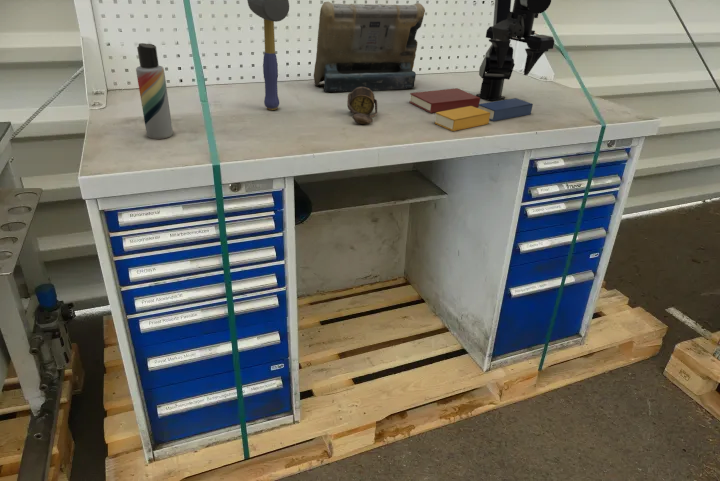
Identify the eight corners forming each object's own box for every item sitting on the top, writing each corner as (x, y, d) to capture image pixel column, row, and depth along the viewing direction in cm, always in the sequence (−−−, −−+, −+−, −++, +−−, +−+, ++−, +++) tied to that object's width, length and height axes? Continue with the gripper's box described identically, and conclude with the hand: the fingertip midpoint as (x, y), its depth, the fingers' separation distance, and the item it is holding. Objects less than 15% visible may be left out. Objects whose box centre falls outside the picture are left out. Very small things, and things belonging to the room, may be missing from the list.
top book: (469, 116, 144) (471, 105, 143) (488, 123, 140) (490, 112, 138) (434, 123, 138) (435, 112, 136) (453, 131, 133) (454, 119, 131)
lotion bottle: (150, 130, 123) (135, 40, 113) (175, 131, 123) (163, 41, 113) (144, 139, 118) (128, 46, 108) (170, 139, 119) (156, 47, 108)
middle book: (513, 108, 154) (515, 97, 152) (530, 114, 149) (533, 103, 148) (476, 114, 146) (478, 104, 145) (493, 121, 142) (495, 110, 140)
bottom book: (455, 97, 161) (457, 88, 159) (478, 107, 153) (480, 97, 151) (409, 102, 154) (410, 92, 152) (430, 113, 145) (431, 103, 144)
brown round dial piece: (390, 93, 140) (356, 80, 142) (376, 101, 129) (339, 86, 131) (382, 119, 144) (349, 106, 145) (367, 128, 133) (332, 114, 134)
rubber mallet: (293, 114, 139) (291, -11, 123) (266, 117, 135) (261, -11, 120) (276, 101, 148) (273, -17, 133) (251, 104, 145) (244, -17, 129)
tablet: (401, 78, 178) (408, -3, 165) (421, 89, 167) (431, 3, 155) (310, 84, 166) (310, -3, 153) (326, 96, 155) (327, 4, 143)
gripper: (475, 4, 136) (466, 66, 144) (531, 14, 123) (518, 82, 131) (505, 3, 142) (495, 63, 150) (562, 13, 128) (547, 78, 136)
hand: (512, 71), depth 141 cm, fingers open, 9 cm apart
